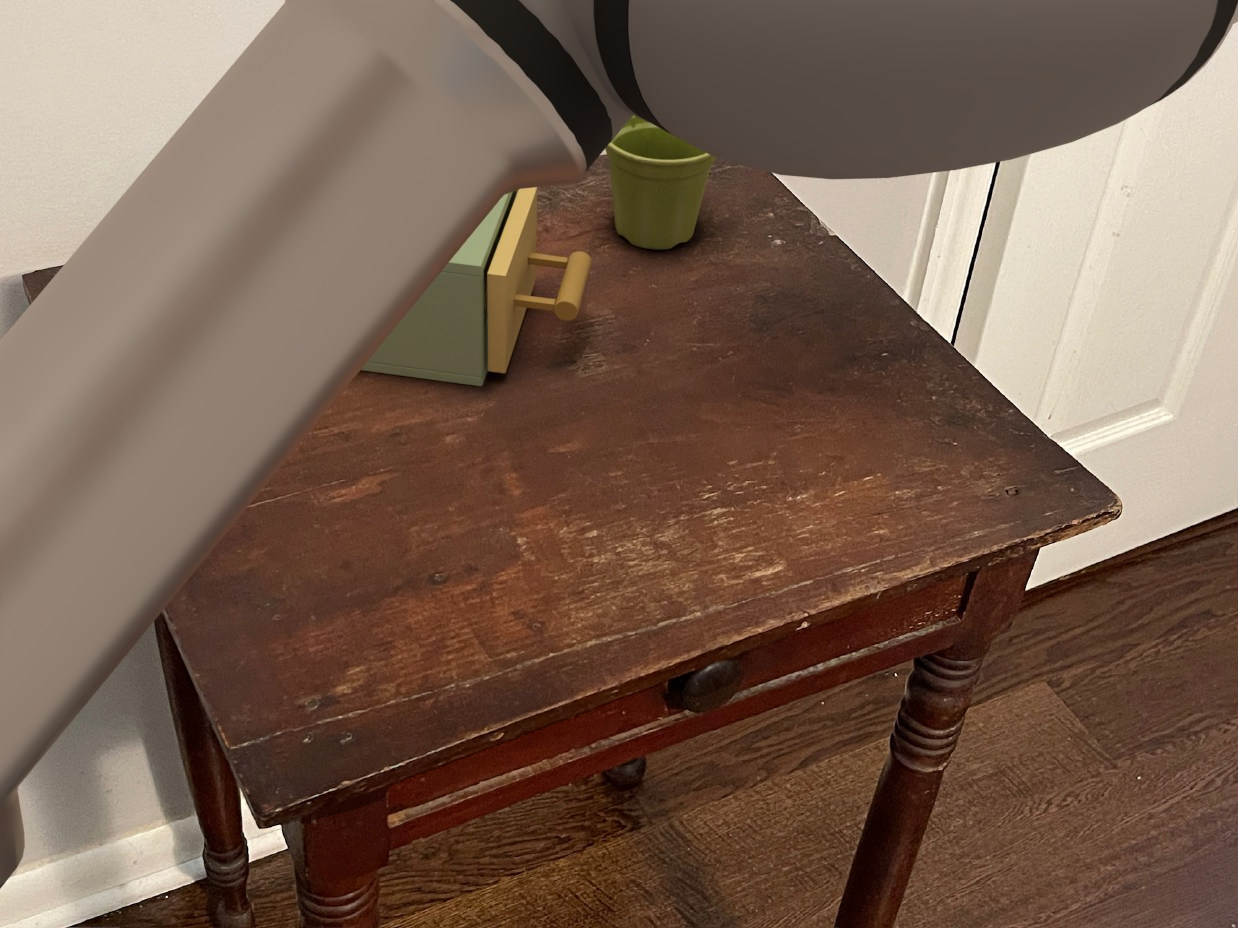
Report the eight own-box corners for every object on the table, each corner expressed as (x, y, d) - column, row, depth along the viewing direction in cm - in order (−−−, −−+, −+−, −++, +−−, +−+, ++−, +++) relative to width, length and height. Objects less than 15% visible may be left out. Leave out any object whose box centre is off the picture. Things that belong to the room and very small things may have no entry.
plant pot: (587, 257, 102) (593, 154, 96) (598, 192, 109) (604, 93, 103) (711, 269, 102) (724, 167, 96) (715, 203, 108) (727, 104, 103)
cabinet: (517, 284, 99) (518, 167, 92) (482, 387, 90) (480, 266, 83) (335, 260, 99) (323, 143, 93) (282, 360, 91) (266, 238, 84)
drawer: (594, 289, 97) (600, 194, 92) (569, 382, 89) (574, 284, 84) (365, 259, 98) (358, 164, 93) (321, 349, 90) (310, 250, 85)
